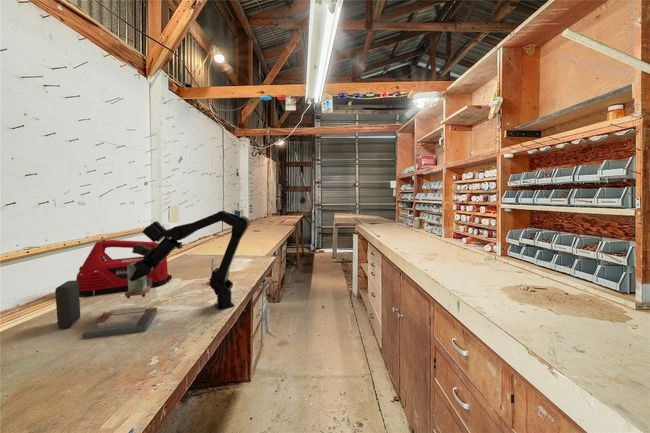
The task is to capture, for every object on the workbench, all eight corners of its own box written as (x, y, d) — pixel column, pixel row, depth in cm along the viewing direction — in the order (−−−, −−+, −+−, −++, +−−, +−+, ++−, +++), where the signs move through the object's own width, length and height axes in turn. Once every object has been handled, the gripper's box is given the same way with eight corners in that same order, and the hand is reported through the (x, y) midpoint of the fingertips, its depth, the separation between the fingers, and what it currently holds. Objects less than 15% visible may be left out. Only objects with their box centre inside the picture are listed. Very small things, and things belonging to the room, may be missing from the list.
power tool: (172, 285, 148) (171, 237, 147) (72, 300, 127) (68, 244, 125) (170, 277, 162) (168, 233, 160) (78, 290, 140) (75, 239, 138)
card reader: (68, 319, 108) (66, 280, 106) (82, 317, 109) (79, 279, 108) (56, 330, 99) (53, 288, 98) (70, 328, 100) (67, 286, 99)
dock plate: (157, 312, 114) (157, 304, 114) (145, 331, 99) (145, 321, 98) (103, 318, 108) (103, 309, 108) (82, 338, 93) (81, 328, 93)
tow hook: (230, 283, 153) (217, 280, 157) (230, 260, 151) (217, 257, 155) (218, 288, 145) (205, 285, 149) (218, 263, 144) (205, 260, 148)
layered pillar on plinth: (150, 291, 120) (148, 261, 119) (145, 297, 113) (143, 265, 112) (131, 293, 118) (129, 262, 117) (125, 299, 111) (122, 266, 110)
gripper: (152, 233, 124) (124, 260, 121) (138, 240, 106) (105, 271, 104) (173, 250, 127) (146, 277, 124) (163, 259, 109) (131, 290, 106)
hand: (133, 278), depth 115 cm, fingers closed on layered pillar on plinth, 5 cm apart
